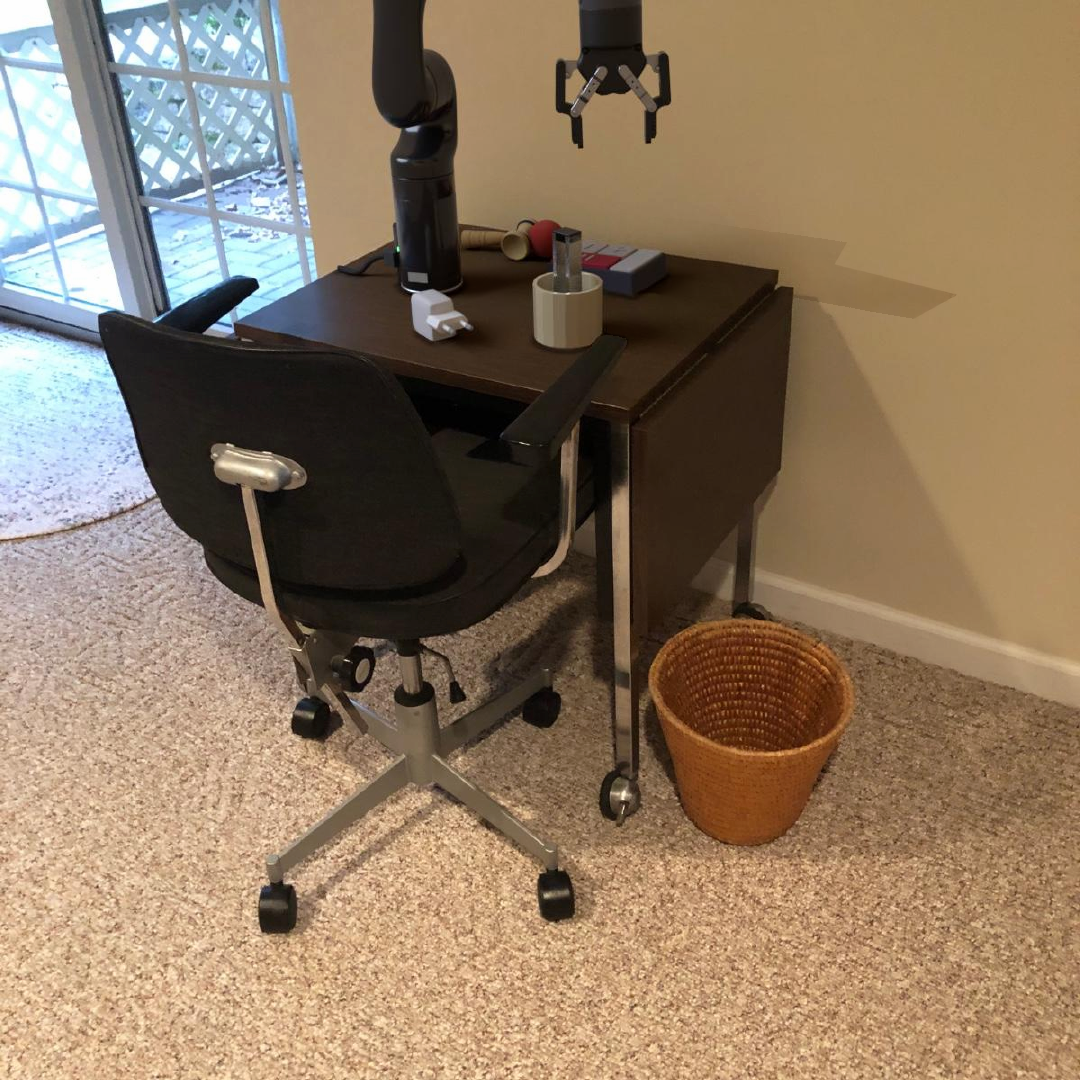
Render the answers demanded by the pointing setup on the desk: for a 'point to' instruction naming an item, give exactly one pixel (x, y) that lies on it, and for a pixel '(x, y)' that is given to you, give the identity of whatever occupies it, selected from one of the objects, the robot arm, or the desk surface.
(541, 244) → the kendama
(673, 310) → the desk surface
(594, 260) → the calculator
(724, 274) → the desk surface
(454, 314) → the power adapter
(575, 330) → the crock
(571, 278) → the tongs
